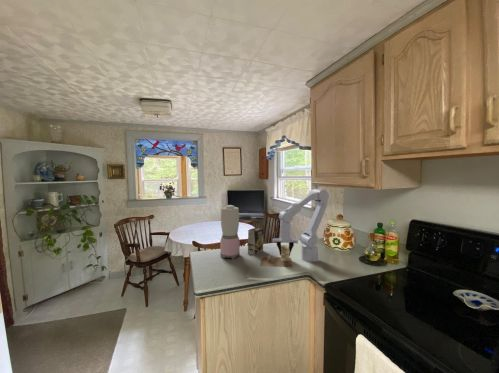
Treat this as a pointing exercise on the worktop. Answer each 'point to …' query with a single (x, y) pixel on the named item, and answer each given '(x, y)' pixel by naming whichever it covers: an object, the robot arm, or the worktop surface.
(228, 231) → the blender
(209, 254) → the worktop surface
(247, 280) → the worktop surface
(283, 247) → the block
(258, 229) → the coffee box
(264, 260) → the base
